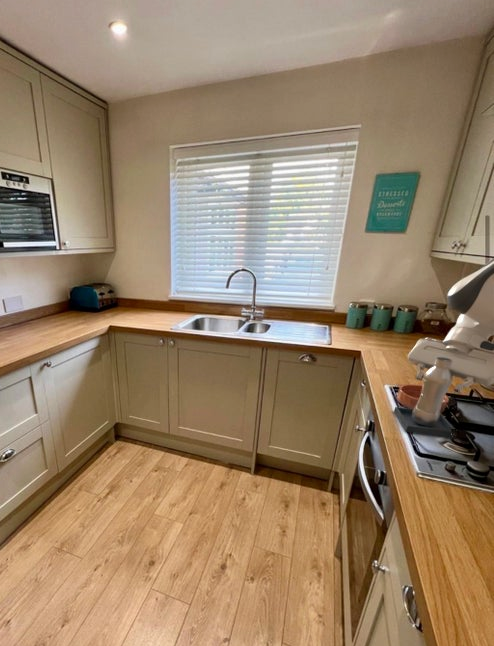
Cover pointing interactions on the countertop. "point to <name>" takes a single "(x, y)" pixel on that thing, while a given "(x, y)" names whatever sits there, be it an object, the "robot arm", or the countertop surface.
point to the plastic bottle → (433, 392)
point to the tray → (411, 426)
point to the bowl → (414, 396)
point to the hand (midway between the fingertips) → (436, 384)
